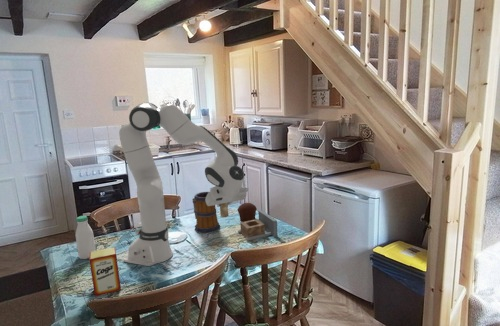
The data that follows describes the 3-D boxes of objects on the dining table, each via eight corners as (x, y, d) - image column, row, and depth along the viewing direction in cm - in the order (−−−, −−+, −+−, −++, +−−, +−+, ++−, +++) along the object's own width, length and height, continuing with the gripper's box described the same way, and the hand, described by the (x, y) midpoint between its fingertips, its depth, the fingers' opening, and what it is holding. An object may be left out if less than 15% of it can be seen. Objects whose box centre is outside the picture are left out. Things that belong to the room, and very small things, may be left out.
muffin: (249, 214, 210) (248, 199, 208) (261, 219, 202) (260, 203, 200) (233, 219, 203) (233, 204, 201) (245, 225, 195) (244, 208, 193)
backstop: (249, 243, 171) (248, 226, 169) (236, 230, 187) (235, 215, 185) (277, 236, 177) (277, 220, 175) (262, 225, 193) (261, 210, 192)
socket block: (247, 239, 175) (247, 228, 174) (240, 233, 183) (240, 222, 182) (265, 235, 179) (264, 224, 178) (257, 229, 187) (257, 219, 186)
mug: (185, 226, 196) (182, 193, 192) (205, 219, 206) (203, 187, 201) (204, 236, 182) (201, 200, 178) (225, 228, 192) (223, 194, 187)
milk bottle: (99, 254, 167) (94, 215, 162) (85, 261, 160) (79, 221, 156) (89, 250, 170) (84, 213, 166) (75, 257, 164) (69, 218, 160)
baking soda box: (119, 281, 141) (115, 246, 138) (121, 289, 135) (115, 252, 132) (95, 287, 137) (89, 251, 134) (95, 296, 131) (89, 258, 128)
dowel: (219, 217, 171) (218, 198, 169) (221, 214, 175) (220, 195, 173) (227, 217, 170) (226, 198, 168) (229, 214, 174) (228, 195, 172)
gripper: (247, 181, 167) (240, 195, 177) (207, 188, 158) (202, 202, 169) (251, 192, 164) (244, 206, 174) (210, 200, 155) (205, 213, 166)
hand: (223, 204), depth 172 cm, fingers closed on dowel, 4 cm apart
